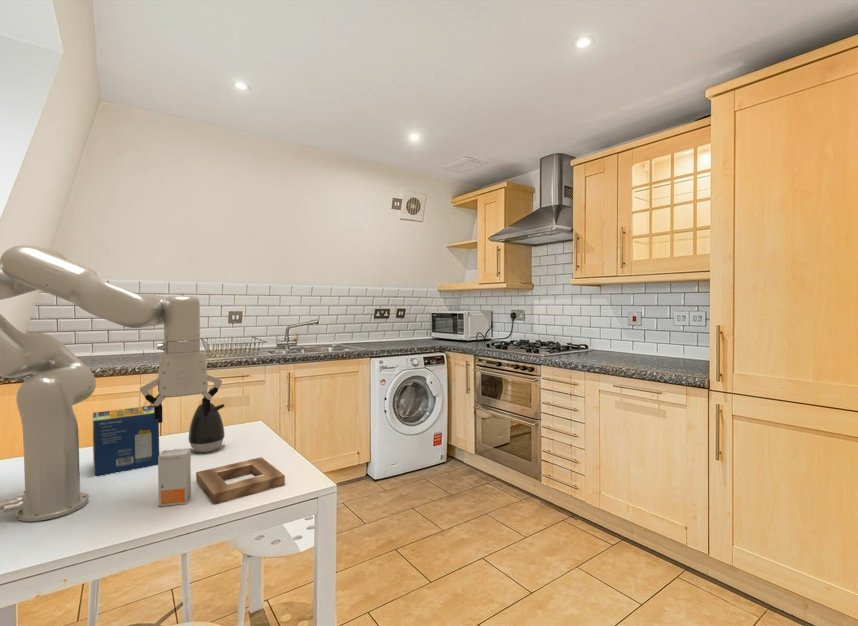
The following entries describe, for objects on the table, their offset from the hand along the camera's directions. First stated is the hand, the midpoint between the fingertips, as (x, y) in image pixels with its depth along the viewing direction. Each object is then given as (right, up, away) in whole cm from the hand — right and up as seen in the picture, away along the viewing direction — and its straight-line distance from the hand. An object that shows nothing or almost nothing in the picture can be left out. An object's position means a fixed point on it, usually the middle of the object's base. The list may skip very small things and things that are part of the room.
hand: (183, 418), depth 106 cm
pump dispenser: (-11, -18, +34) cm, 40 cm away
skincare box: (-1, -20, -2) cm, 20 cm away
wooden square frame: (+10, -19, +9) cm, 23 cm away
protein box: (-28, -19, +21) cm, 40 cm away
